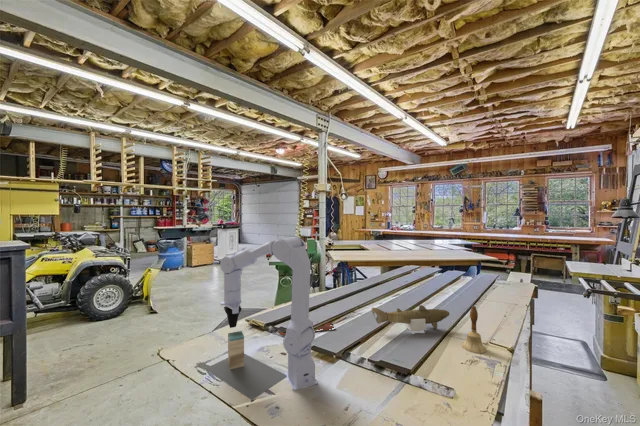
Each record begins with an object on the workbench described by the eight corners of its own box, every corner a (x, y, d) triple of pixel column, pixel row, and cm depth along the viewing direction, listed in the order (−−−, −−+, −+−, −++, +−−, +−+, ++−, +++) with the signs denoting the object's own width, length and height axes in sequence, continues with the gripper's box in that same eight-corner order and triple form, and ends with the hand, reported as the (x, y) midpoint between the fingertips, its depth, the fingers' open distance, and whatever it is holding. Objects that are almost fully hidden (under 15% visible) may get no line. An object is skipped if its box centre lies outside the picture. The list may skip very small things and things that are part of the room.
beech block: (244, 366, 95) (244, 336, 95) (230, 369, 93) (229, 338, 93) (241, 359, 99) (241, 330, 99) (228, 362, 97) (228, 333, 97)
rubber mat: (287, 377, 90) (287, 375, 90) (251, 401, 79) (251, 399, 79) (240, 353, 105) (240, 351, 105) (204, 370, 94) (204, 368, 94)
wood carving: (368, 329, 125) (368, 303, 125) (442, 324, 130) (442, 300, 130) (374, 338, 116) (374, 311, 116) (454, 333, 121) (454, 307, 121)
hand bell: (463, 351, 106) (464, 309, 106) (460, 341, 114) (460, 301, 114) (489, 355, 104) (490, 311, 103) (483, 344, 112) (484, 304, 111)
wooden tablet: (331, 322, 134) (331, 318, 134) (337, 331, 124) (337, 327, 124) (273, 327, 128) (273, 323, 128) (274, 337, 118) (274, 333, 118)
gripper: (218, 285, 107) (218, 321, 108) (223, 296, 94) (223, 337, 94) (237, 283, 110) (238, 318, 111) (244, 293, 97) (245, 333, 97)
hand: (232, 326), depth 103 cm, fingers closed
